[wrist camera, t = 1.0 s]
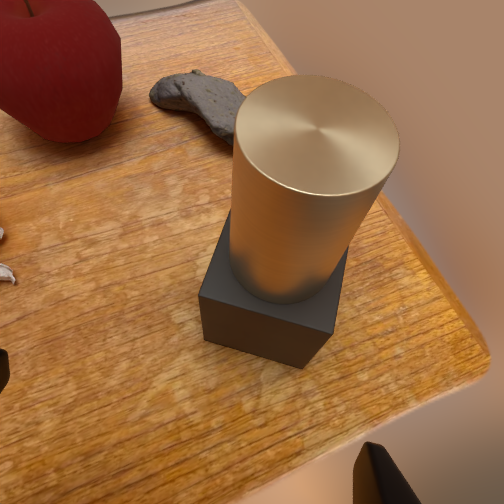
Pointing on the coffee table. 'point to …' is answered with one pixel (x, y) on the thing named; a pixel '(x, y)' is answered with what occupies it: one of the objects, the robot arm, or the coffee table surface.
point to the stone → (201, 99)
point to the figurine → (5, 267)
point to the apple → (59, 67)
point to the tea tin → (303, 181)
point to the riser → (265, 313)
